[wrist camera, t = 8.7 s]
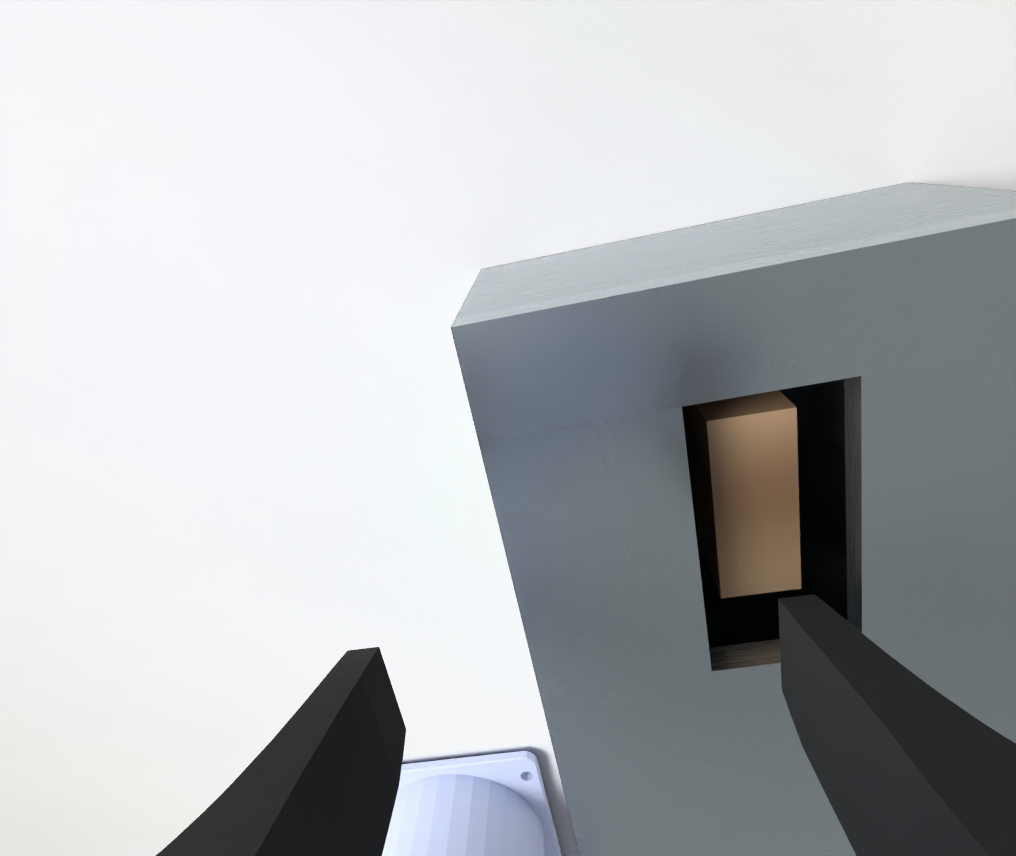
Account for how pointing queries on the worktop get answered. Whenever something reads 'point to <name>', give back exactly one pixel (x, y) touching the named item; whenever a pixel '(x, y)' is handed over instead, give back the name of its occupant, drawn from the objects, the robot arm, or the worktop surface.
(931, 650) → the cash box
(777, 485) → the tan rectangular slab
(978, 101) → the worktop surface
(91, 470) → the worktop surface
